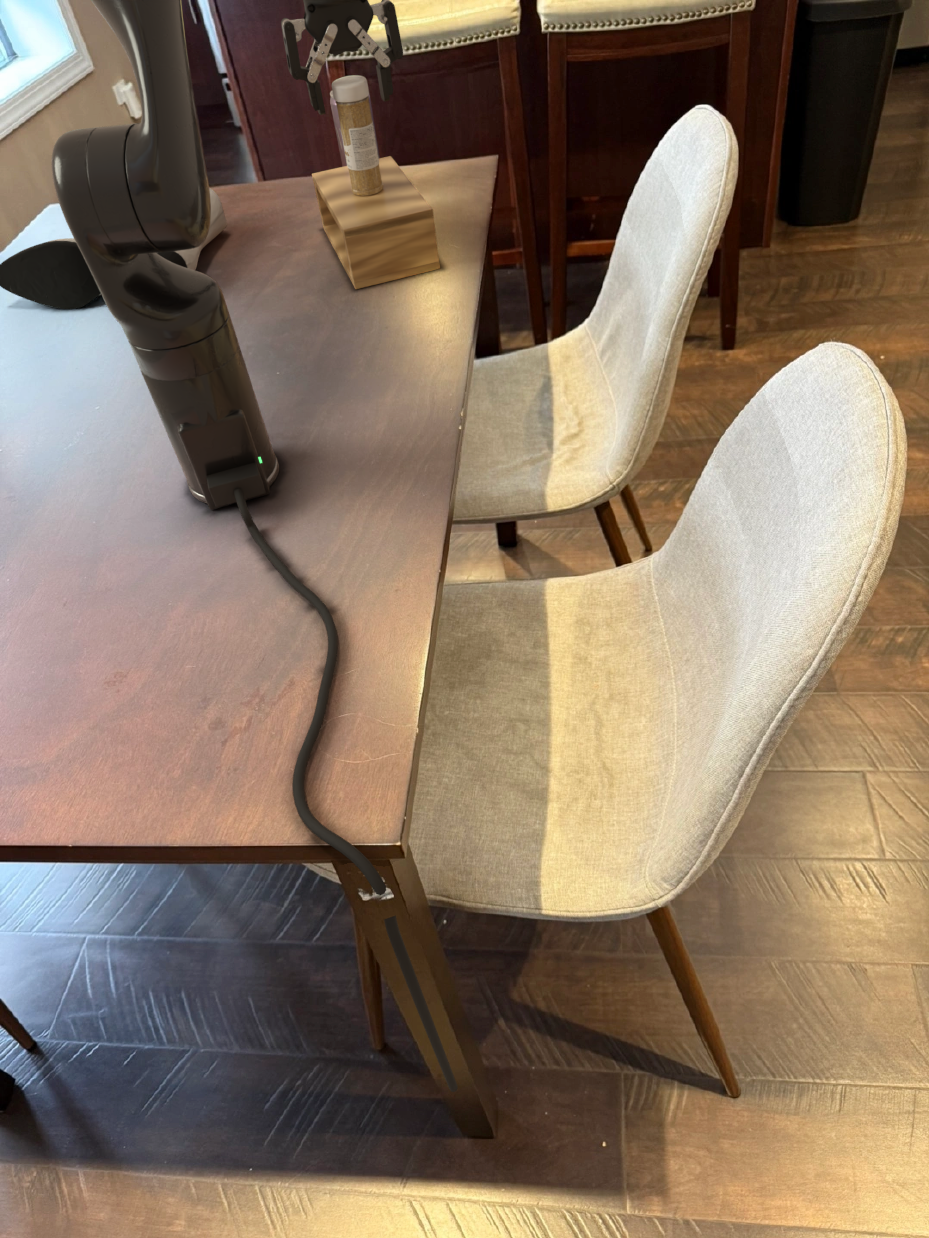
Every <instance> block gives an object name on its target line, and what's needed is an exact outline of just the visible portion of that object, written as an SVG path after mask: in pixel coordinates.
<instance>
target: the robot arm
mask: <svg viewBox="0 0 929 1238" xmlns="http://www.w3.org/2000/svg"><path fill="white" fill-rule="evenodd" d="M90 1H91V2H92V4H93V5H94V7H95V8H96V9H97V11H98V12H99V14H100V15H101V16H102V18H103V19H104V20H105V22H106V23H107V25H108V26H109V28H110V30H111V31H112V32H113V34H114V35H115V37H116V38H117V40H118V42H119V43H120V45H121V47H122V49H123V51H124V52H125V55H126V56H127V58H128V60H129V62H130V63H129V64H130V65H131V67H132V71H133V74H134V78H135V81H136V86H137V90H138V94H139V100H140V107H141V121H140V122H135V123H125V124H117V125H107V126H106V125H105V126H95V127H86V128H85V127H84V128H77V129H73V130H69V131H67V132H64V133H63V134H61V135H60V136H59V137H58V138H57V139H56V141H55V143H54V145H53V147H52V153H51V162H50V163H51V177H52V182H53V186H54V190H55V193H56V198H57V201H58V204H59V207H60V209H61V212H62V214H63V217H64V219H65V222H66V224H67V226H68V229H69V231H70V233H71V235H72V238H74V239H75V241H76V243H77V245H78V247H79V249H80V251H81V253H82V255H83V257H84V259H85V261H86V263H87V265H88V267H89V269H90V271H91V273H92V276H93V278H94V280H95V282H96V284H97V286H98V288H99V290H100V292H101V295H100V296H102V299H103V301H104V303H105V305H106V307H107V309H108V311H109V312H110V314H111V315H112V317H113V318H114V319H115V320H116V322H118V324H119V325H120V326H121V328H122V330H123V332H124V335H125V337H126V339H127V341H128V343H129V346H130V349H131V351H132V353H133V356H134V358H135V360H136V364H137V365H138V368H139V370H140V373H141V375H142V377H143V380H144V382H145V385H146V388H147V389H148V392H149V394H150V396H151V399H152V401H153V404H154V407H155V409H156V411H157V413H158V415H159V418H160V420H161V422H162V425H163V427H164V430H165V432H166V434H167V437H168V439H169V442H170V444H171V446H172V449H173V451H174V453H175V455H176V458H177V460H178V463H179V465H180V467H181V470H182V472H183V475H184V477H185V479H186V484H187V486H188V490H189V491H190V493H191V495H192V496H193V497H194V498H195V499H196V500H198V501H199V502H201V503H204V504H207V507H208V509H209V510H210V511H214V510H217V509H221V508H224V507H228V506H232V505H234V504H236V505H237V508H238V510H239V514H240V515H241V518H242V520H243V522H244V524H245V527H246V528H247V530H248V532H249V533H250V535H251V537H252V538H253V540H254V541H255V543H256V545H257V546H258V548H260V550H261V552H262V553H263V554H264V556H265V557H266V558H267V560H268V561H269V562H270V563H271V564H272V565H273V567H274V568H275V569H276V570H277V572H279V573H280V574H279V575H281V576H282V577H283V579H284V580H285V582H287V584H288V585H290V586H291V588H293V589H294V590H295V591H296V592H297V593H299V595H301V596H302V597H303V598H304V599H305V600H306V601H308V602H309V603H310V604H311V605H312V606H313V607H314V609H316V611H317V612H318V614H319V615H320V617H321V619H322V621H323V624H324V626H325V630H326V636H327V654H326V658H325V659H326V660H325V664H324V669H323V673H322V677H321V681H320V685H319V689H318V694H317V698H316V699H317V700H316V705H315V709H314V712H313V716H312V720H311V723H310V725H309V728H308V731H307V733H306V735H305V738H304V740H303V742H302V745H301V748H300V750H299V752H298V755H297V757H296V761H295V765H294V768H293V769H294V770H293V774H292V782H291V783H292V784H291V785H292V787H291V788H292V796H293V797H292V798H293V801H294V806H295V809H296V812H297V815H298V817H299V818H300V819H301V821H302V823H303V824H304V825H305V826H306V828H307V829H308V831H310V832H311V833H312V834H313V835H314V836H316V837H317V838H318V839H320V840H321V841H323V842H324V843H326V845H329V846H330V847H332V848H333V849H335V850H336V851H337V852H339V853H341V854H342V855H343V856H344V857H346V858H347V859H348V860H349V861H350V862H352V863H353V864H354V865H355V867H357V868H358V869H359V871H360V872H361V873H362V874H363V876H364V877H365V879H366V880H367V882H368V883H369V885H370V887H371V888H372V891H373V892H374V893H375V894H376V895H377V896H382V895H384V894H385V893H386V891H387V885H386V884H385V882H384V879H383V878H382V876H381V875H380V873H379V872H378V870H377V869H376V868H375V866H374V864H373V863H372V862H371V861H370V860H369V859H368V858H367V857H366V855H364V854H363V853H362V852H361V851H360V850H359V849H358V848H357V847H356V846H354V845H353V844H352V843H350V842H349V841H347V840H346V839H345V838H343V837H341V836H340V835H338V834H337V833H336V832H334V831H332V830H330V829H329V828H328V827H326V826H325V825H324V824H322V823H321V822H320V821H319V820H318V819H317V818H316V817H315V816H314V814H313V813H312V811H311V810H310V807H309V805H308V802H307V799H306V792H305V777H306V772H307V768H308V767H307V766H308V764H309V761H310V758H311V754H312V751H313V749H314V747H315V744H316V742H317V739H318V738H319V735H320V731H321V729H322V727H323V723H324V722H325V721H324V720H325V716H326V713H327V708H328V703H329V697H330V693H331V688H332V683H333V679H334V675H335V672H336V671H335V670H336V665H337V661H338V655H339V636H338V629H337V625H336V624H335V620H334V618H333V615H332V613H331V612H330V610H329V608H328V607H327V605H326V604H325V603H324V602H323V600H322V599H321V598H320V597H319V596H318V595H317V594H316V593H315V592H313V591H312V590H311V589H310V588H309V587H307V586H306V585H305V584H304V583H302V581H301V580H299V579H298V578H297V577H296V576H295V574H293V572H292V571H291V570H290V569H289V568H288V567H287V565H286V564H285V562H283V561H282V559H280V557H279V556H278V555H277V554H276V552H275V551H274V550H273V549H272V548H271V546H270V545H269V544H268V542H267V541H266V539H265V538H264V536H263V535H262V533H261V532H260V530H259V528H258V526H257V525H256V523H255V521H254V519H253V517H252V515H251V512H250V510H249V507H248V505H247V502H246V501H249V500H253V499H257V498H260V497H263V496H267V495H269V494H271V491H270V487H271V486H272V484H274V482H275V481H276V479H277V478H278V476H279V472H280V464H279V461H278V458H277V455H276V453H275V451H274V449H273V446H272V443H271V440H270V436H269V433H268V430H267V426H266V425H265V421H264V418H263V414H262V411H261V409H260V405H259V402H258V400H257V396H256V393H255V390H254V387H253V384H252V381H251V377H250V373H249V371H248V368H247V365H246V362H245V358H244V355H243V352H242V349H241V346H240V343H239V340H238V336H237V333H236V329H235V327H234V324H233V321H232V317H231V314H230V311H229V308H228V305H227V301H226V299H225V295H224V292H223V291H222V288H221V287H220V285H219V283H218V282H217V281H216V280H215V279H214V278H212V277H211V276H210V275H208V274H206V273H204V272H201V271H198V270H196V269H195V270H192V269H189V268H185V267H183V266H180V265H177V264H175V263H172V262H170V261H168V260H166V259H165V258H163V257H161V256H160V255H158V254H157V253H158V252H171V251H181V250H189V249H194V248H197V247H199V246H201V245H202V244H203V243H204V242H205V240H206V238H207V236H208V233H209V228H210V219H211V202H210V190H209V188H210V182H209V177H208V175H209V174H208V169H207V162H206V156H205V150H204V144H203V139H202V133H201V132H202V131H201V127H200V121H199V116H198V109H197V104H196V97H195V92H194V86H193V79H192V73H191V67H190V61H189V55H188V47H187V41H186V31H185V22H184V15H183V5H182V0H90ZM302 2H303V6H304V15H303V18H297V19H296V18H295V19H289V18H287V17H284V18H282V19H281V21H280V26H281V31H282V32H281V33H282V38H283V44H284V52H285V56H286V63H287V68H288V69H287V70H288V72H289V74H290V75H291V77H292V78H293V79H294V80H296V81H297V80H302V81H305V83H306V87H307V92H308V97H309V101H310V105H311V106H312V108H313V110H314V111H315V112H317V113H318V114H319V116H323V115H327V113H326V108H325V103H324V97H323V92H322V87H321V82H320V80H318V77H319V75H320V73H321V70H322V68H323V66H324V65H325V63H326V61H327V57H328V55H332V56H339V55H342V54H343V53H346V52H348V53H354V52H358V51H359V49H361V48H362V46H363V47H364V48H365V49H366V50H367V51H368V52H369V53H370V55H371V56H372V57H373V58H374V59H375V60H376V62H377V65H375V68H376V74H377V80H378V88H379V94H380V98H381V101H383V102H389V101H390V100H391V98H390V97H391V96H392V95H393V93H394V85H393V79H392V71H391V65H392V64H393V62H395V61H397V60H401V59H402V58H403V57H404V49H403V44H402V38H401V32H400V27H399V22H398V16H397V11H396V5H395V4H394V2H392V1H391V0H381V1H380V2H376V3H373V4H370V2H369V0H303V1H302ZM374 16H376V17H377V20H378V21H379V22H380V23H381V24H382V25H383V26H384V31H385V36H386V40H387V45H388V47H387V48H385V49H384V50H383V49H382V48H381V47H380V46H379V45H378V44H377V43H376V41H375V40H374V39H373V38H372V37H371V35H369V34H368V32H369V30H370V27H371V24H372V22H373V20H374ZM304 30H305V31H307V33H308V34H309V35H310V36H311V37H312V38H313V43H312V45H311V49H310V51H309V55H308V59H307V62H306V64H305V66H303V65H301V61H300V60H301V59H300V54H299V48H298V42H301V39H302V33H303V32H304ZM383 921H384V926H385V930H386V934H387V935H388V936H387V937H388V939H389V942H390V944H391V947H392V949H393V952H394V955H395V957H396V960H397V963H398V965H399V968H400V970H401V973H402V976H403V978H404V980H405V981H404V982H405V983H406V985H407V988H408V990H409V994H410V995H411V998H412V1001H413V1004H414V1006H415V1009H416V1010H417V1011H416V1012H417V1014H418V1016H419V1018H420V1021H421V1023H422V1026H423V1028H424V1030H425V1031H424V1032H425V1033H426V1036H427V1038H428V1040H429V1043H430V1045H431V1047H432V1050H433V1053H434V1055H435V1057H436V1060H437V1062H438V1064H439V1067H440V1069H441V1072H442V1075H443V1077H444V1079H445V1081H446V1085H447V1088H448V1089H449V1091H450V1092H451V1093H455V1092H457V1091H458V1087H459V1086H458V1082H457V1081H456V1078H455V1075H454V1072H453V1070H452V1067H451V1065H450V1062H449V1059H448V1057H447V1054H446V1051H445V1049H444V1046H443V1043H442V1041H441V1038H440V1036H439V1033H438V1031H437V1030H438V1029H437V1028H436V1025H435V1023H434V1020H433V1017H432V1015H431V1011H430V1009H429V1006H428V1004H427V1001H426V998H425V996H424V993H423V989H421V985H420V982H419V980H418V977H417V975H416V972H415V969H414V967H413V963H412V961H411V958H410V955H409V953H408V950H407V947H406V944H405V942H404V939H403V936H402V934H401V931H400V928H399V924H398V920H397V915H393V916H390V917H387V918H385V919H383Z"/></svg>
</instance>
